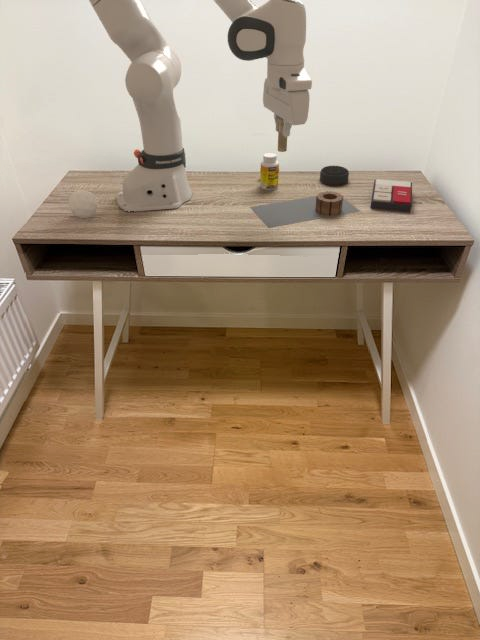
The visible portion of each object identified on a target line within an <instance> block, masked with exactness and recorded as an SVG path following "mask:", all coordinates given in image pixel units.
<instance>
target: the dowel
mask: <svg viewBox="0 0 480 640" xmlns="http://www.w3.org/2000/svg"><path fill="white" fill-rule="evenodd" d="M283 126H284V123H283V118H281V117H279V129H278V132H277V133H278V135H277V137H278V138H277V152H280V153H285V152H287V148H288V137H284V136H283V135H282V134H281V133H282V128H283Z"/></svg>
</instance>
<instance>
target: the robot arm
mask: <svg viewBox="0 0 480 640" xmlns="http://www.w3.org/2000/svg"><path fill="white" fill-rule="evenodd" d="M88 1H89V3H90V4H91V7H92V8H93V10H94V12H95V13H96V15H97V17H98V20H99V21H100V22H101V25H102V26H103V28H104V30H105V32H106V33H107V35H108V37H109V39H110V40H111V41H112V43H114V44H115V45H116V46H117V47H118V48H119V49H121V51H122V52H123V53H124V54H125V56H126V57H127V58H128V60H129V61H130V62H131V63H130V65H129V66H128V68H127V71H126V74H125V78H124V82H125V88H126V90H127V92H128V95H129V96H130V97H131V98H132V102H133V104H134V107H135V111H136V114H137V117H138V121H139V124H140V125H139V126H140V131H141V138H142V146H143V149H142V150H140V149H135V150H134V151H133V154H134V157H135V158H136V159H137V161H138V162H137V163H138V164H137V165H136V166H135V167H134V168H133V169H132V170H131V171H130V172H128V174H127V175H126V176H125V177H124V179H123V181H122V182H123V184H122V191H120V192H118V193H117V195H116V204H117V203H118V204H117V205H118V207H119V208H120V209H121V210H122V209H123V210H122V211H125V212H126V211H128V212H127V213H131V212H130V211H134V212H144V211H157V210H160V211H161V210H168V209H169V210H170V209H171V210H172V209H173V210H174V209H178V208H180V206H182V204H184V203H186V202H187V201H189V200H190V199H191V198H192V197H193V192H192V190H191V187H190V184H189V181H188V177H187V171H186V167H187V166H186V164H187V163H186V161H187V160H186V152H185V148H184V147H183V146H184V145H183V137H182V126H181V125H182V124H181V119H180V118H181V117H179V114H178V111H177V108H176V104H175V99H174V89H175V88H176V87H177V86H178V84H179V82H180V81H181V75H182V64H181V60H180V58H179V56H178V55H177V54H176V53H175V52H174V50H172V48H171V47H170V45H169V43H168V42H167V40H166V39H165V38H164V36H163V34H162V33H161V31H159V29H158V28H157V27H156V25H155V23H154V22H153V20H152V19H151V17H150V16H149V12H147V10H146V8H145V6H144V4H143V2H142V0H88ZM213 2H214V3H215V4H216V5H217V7H219V8H220V10H221V11H222V12H223V13H224V15H226V17H227V18H228V19H229V20H230V21H231V24H230V26H229V28H228V32H227V44H228V47H229V50H230V51H231V53H232V54H233V56H235V57H236V58H237V59H239V60H241V61H247V62H251V61H252V62H253V61H255V60H260V59H263V58H266V59H267V65H266V66H267V71H266V73H267V75H266V78H265V79H264V82H263V93H262V104H263V107H264V108H266V109H267V110H268V111H270V112H272V113H273V118H274V119H273V120H274V125H275V131H276V132H277V133H278V129H279V117H281V118H283V123H284V126H283V128H282V133H281V134H282V135H283V136H284V137H287V138H288V137H290V135H291V129H292V126H300V125H301V126H302V125H305V124H306V123H307V121H308V118H309V117H308V116H309V111H310V109H309V108H310V92H309V90H311V89H312V88H313V87H312V85H313V80H312V79H311V77H310V76H309V74H308V73H307V70H306V69H305V56H304V48H305V45H306V40H307V39H306V38H307V11H306V6H305V5H304V3H303V2H302V1H301V0H268V1H266V3H264V4H262V5H260V6H259V5H257V4H255V3H254V2H253V1H251V0H213Z"/></svg>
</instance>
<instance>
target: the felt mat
mask: <svg viewBox="0 0 480 640" xmlns="http://www.w3.org/2000/svg"><path fill="white" fill-rule="evenodd" d="M316 196H317V195H314V196H308V197H307V196H306V197H303V198H297V199H290V200H283V201H278V202H272V203H266V204H261V205H255V206H254V205H253V206H250V207H249V208H250V209H251V210H252V211H253V213H254V214H256V216H257V217H258V218H259V219H260V220H261V222H262V223H263V224H264V225H265V226H266V227H267V228H275V227H281V226H287V225H292V224H298V223H299V224H300V223H303V222H308V221H316V220H320V219H321V220H322V219H325V218H331V217H337V216H342V215H347V214H348V215H349V214H354V213H359V212H361V210H360V209H359V208H357V207H356V206H354V205H353V204H352V203H350V201H348V200H347V199H345V198H344V197H343V204H342V211H341V212H340V214H337V215H332V216H331V215H329V216H328V215H322V214H321V213H320V214H319V213H318V212H317V211H316V209H315V208H316Z"/></svg>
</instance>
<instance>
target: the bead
mask: <svg viewBox="0 0 480 640" xmlns="http://www.w3.org/2000/svg"><path fill="white" fill-rule="evenodd" d="M315 196H316V208H315V209H316V211H317V212H318V213H319V214H320V213H321V214H322V215H328V216H329V215H331V216H332V215H337V214H340V212H341V211H342V204H343V198H344V196H343V195H342V194H341V193H340V192H339V193H338V191H337V192H336V191H322V192H319V193H318V194H317V195H315ZM337 216H338V215H337ZM332 217H333V216H332Z"/></svg>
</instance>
